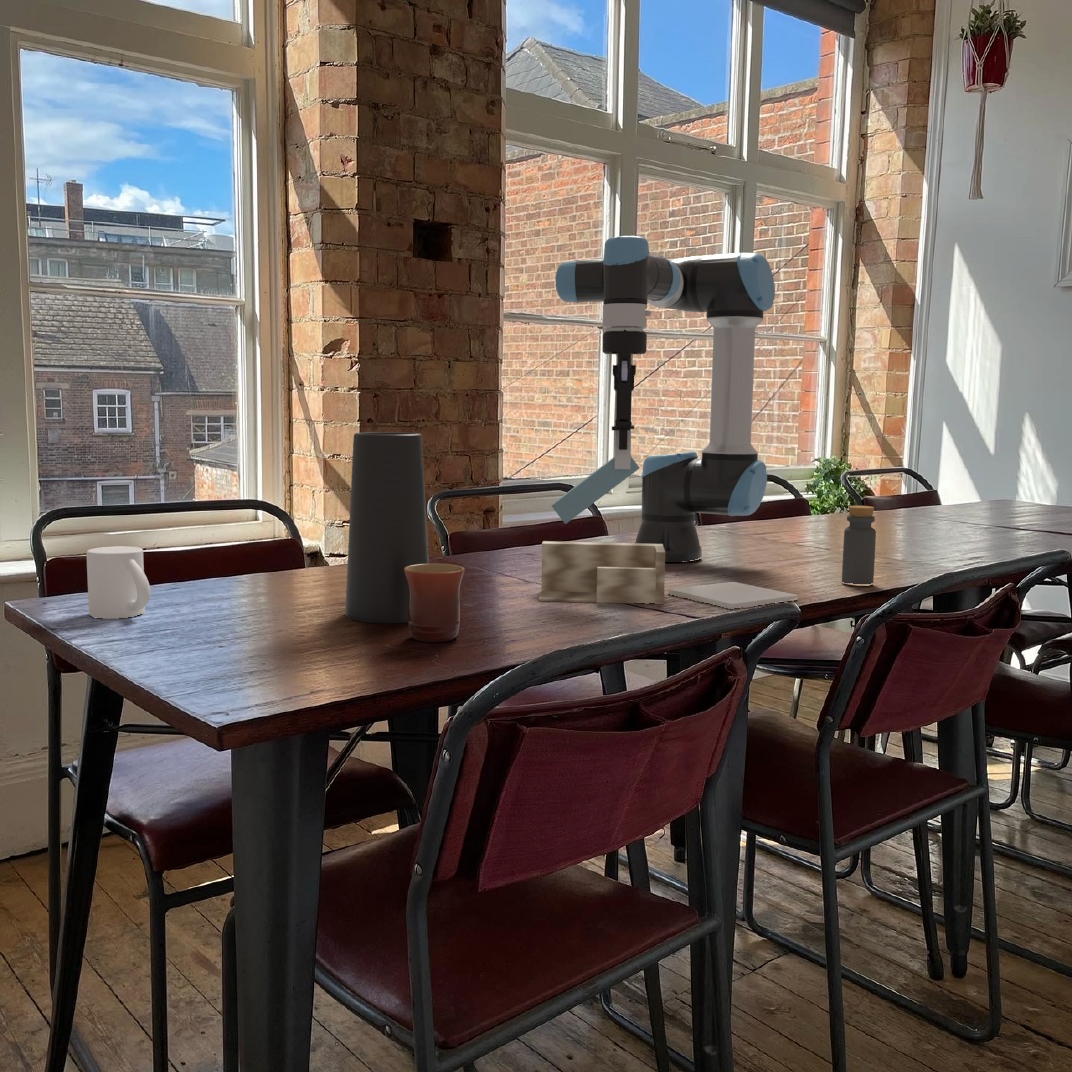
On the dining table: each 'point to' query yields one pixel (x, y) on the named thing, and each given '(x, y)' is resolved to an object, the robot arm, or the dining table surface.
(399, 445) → the vase
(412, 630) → the mug
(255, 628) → the dining table surface
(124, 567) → the mug
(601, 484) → the bar
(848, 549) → the bottle
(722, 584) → the tile
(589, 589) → the block
